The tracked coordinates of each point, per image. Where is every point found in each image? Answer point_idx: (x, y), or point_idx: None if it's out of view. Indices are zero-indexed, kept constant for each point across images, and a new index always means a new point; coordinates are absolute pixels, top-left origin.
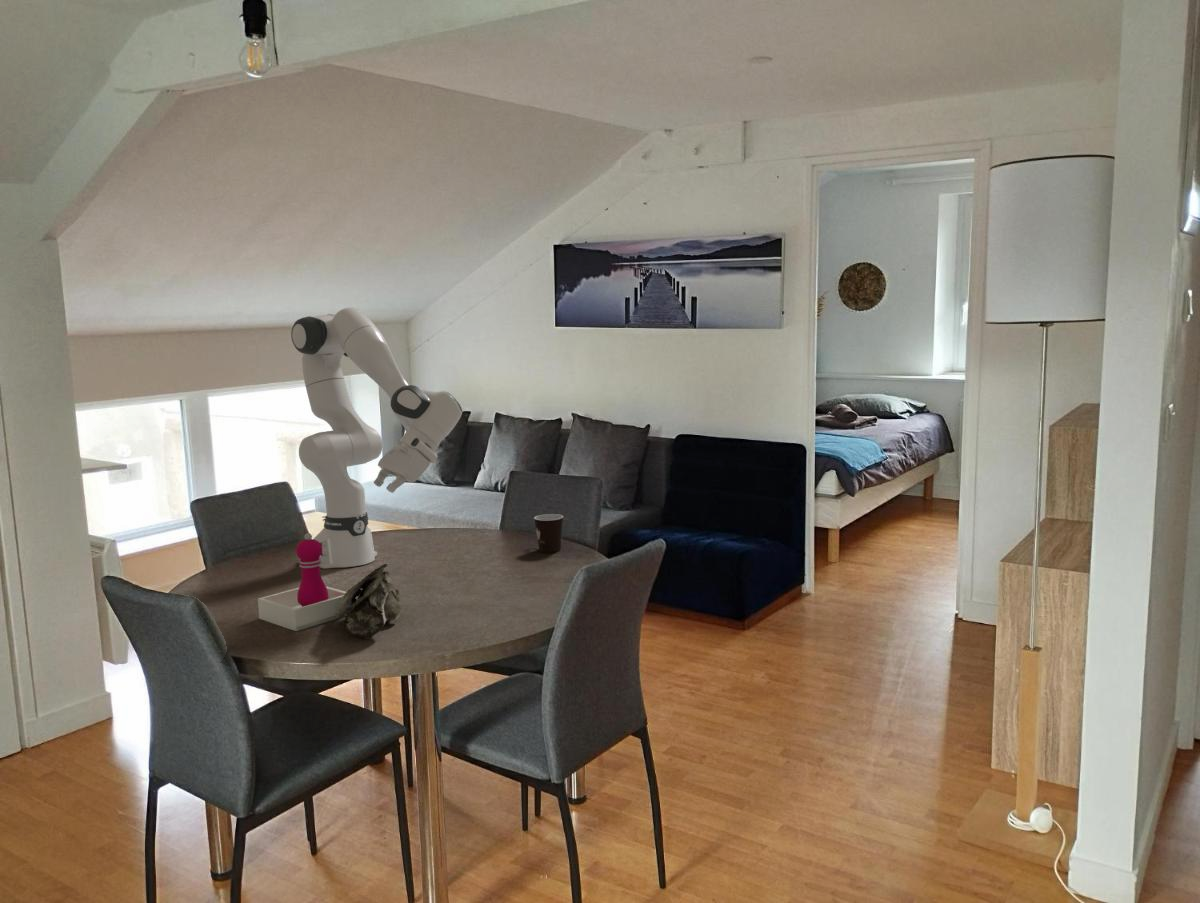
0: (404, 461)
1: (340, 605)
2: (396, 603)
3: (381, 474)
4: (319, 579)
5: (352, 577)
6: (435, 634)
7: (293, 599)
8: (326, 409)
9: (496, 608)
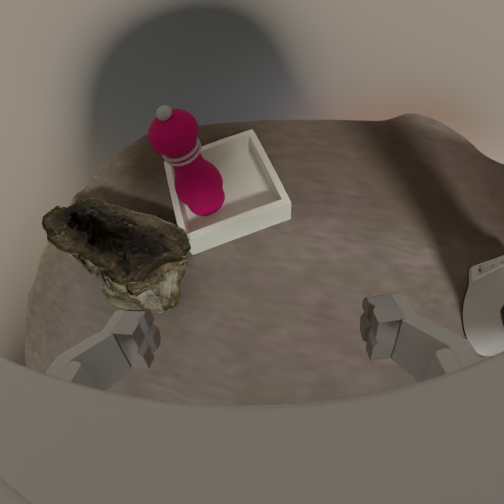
0: (11, 470)
1: (138, 214)
2: (100, 288)
3: (432, 351)
4: (178, 177)
5: (410, 303)
6: (63, 315)
7: (267, 176)
8: None
9: None
